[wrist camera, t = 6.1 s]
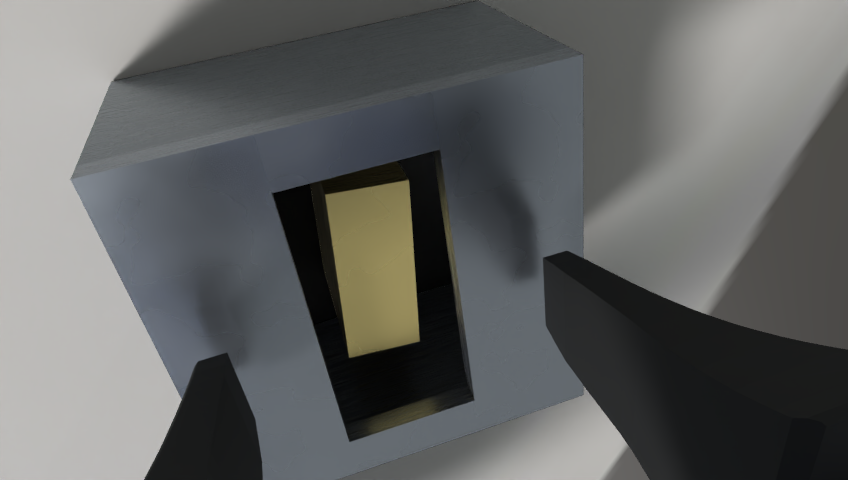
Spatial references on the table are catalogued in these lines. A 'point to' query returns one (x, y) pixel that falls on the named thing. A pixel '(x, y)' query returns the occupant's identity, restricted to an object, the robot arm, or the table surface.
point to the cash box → (333, 156)
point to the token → (369, 256)
